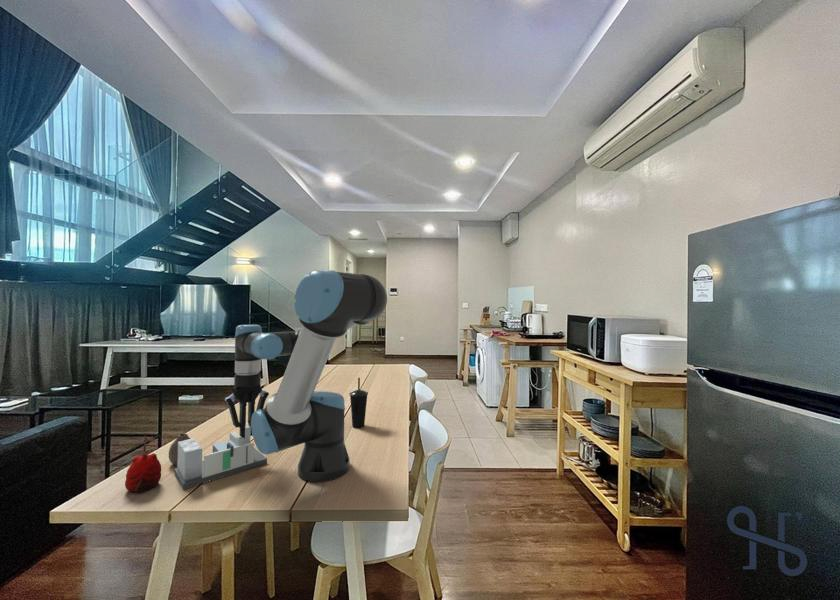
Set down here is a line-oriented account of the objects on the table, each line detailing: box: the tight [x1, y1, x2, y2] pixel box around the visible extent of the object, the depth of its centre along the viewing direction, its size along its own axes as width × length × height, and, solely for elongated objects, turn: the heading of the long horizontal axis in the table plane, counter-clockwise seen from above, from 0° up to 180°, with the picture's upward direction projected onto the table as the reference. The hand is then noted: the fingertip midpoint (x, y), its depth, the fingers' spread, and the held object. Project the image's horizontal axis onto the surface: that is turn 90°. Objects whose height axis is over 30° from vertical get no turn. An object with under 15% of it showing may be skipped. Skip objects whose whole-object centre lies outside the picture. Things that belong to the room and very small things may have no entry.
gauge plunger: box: [212, 431, 245, 457], centre depth 103 cm, size 12×7×7 cm, turn 45°
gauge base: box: [174, 442, 268, 490], centre depth 103 cm, size 12×22×8 cm, turn 135°
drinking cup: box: [348, 377, 369, 429], centre depth 140 cm, size 8×8×20 cm
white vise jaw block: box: [176, 437, 203, 482], centre depth 97 cm, size 10×4×8 cm, turn 45°
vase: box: [168, 433, 192, 466], centre depth 106 cm, size 7×7×9 cm
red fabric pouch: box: [124, 434, 162, 494], centre depth 92 cm, size 8×7×15 cm
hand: (246, 446), depth 108 cm, fingers closed
